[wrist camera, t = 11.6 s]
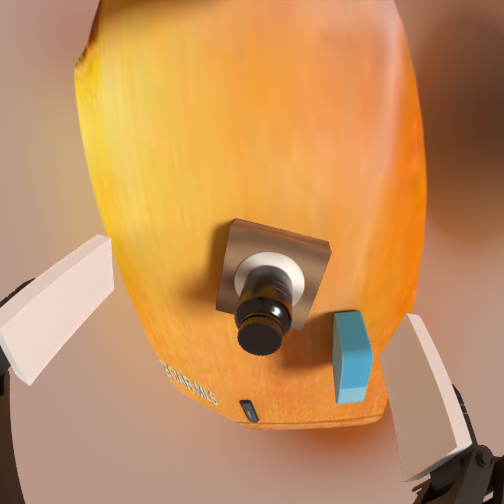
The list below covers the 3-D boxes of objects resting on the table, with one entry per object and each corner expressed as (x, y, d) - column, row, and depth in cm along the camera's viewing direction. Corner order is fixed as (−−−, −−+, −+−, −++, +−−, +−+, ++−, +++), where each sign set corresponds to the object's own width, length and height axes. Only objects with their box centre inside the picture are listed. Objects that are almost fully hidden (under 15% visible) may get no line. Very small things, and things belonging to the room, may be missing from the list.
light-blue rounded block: (354, 356, 48) (362, 405, 37) (331, 358, 48) (336, 407, 38) (359, 306, 43) (374, 355, 32) (333, 308, 44) (342, 358, 33)
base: (236, 218, 40) (229, 227, 36) (328, 241, 40) (331, 253, 36) (221, 296, 46) (215, 310, 42) (301, 316, 45) (301, 332, 41)
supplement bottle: (265, 312, 41) (254, 370, 30) (235, 280, 39) (213, 333, 29) (303, 289, 38) (303, 346, 27) (273, 253, 37) (262, 303, 26)
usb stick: (240, 398, 58) (239, 403, 56) (251, 398, 57) (250, 403, 56) (250, 418, 61) (249, 423, 59) (259, 418, 60) (259, 423, 59)
